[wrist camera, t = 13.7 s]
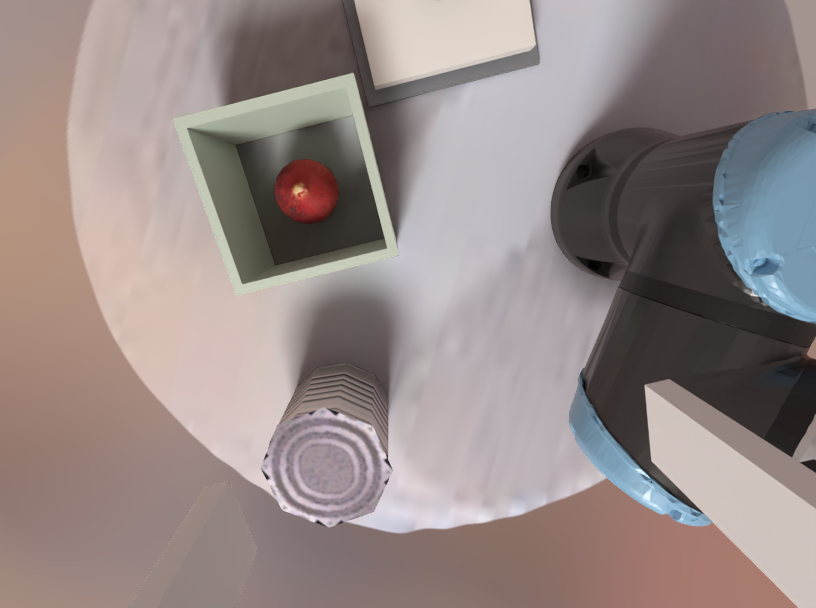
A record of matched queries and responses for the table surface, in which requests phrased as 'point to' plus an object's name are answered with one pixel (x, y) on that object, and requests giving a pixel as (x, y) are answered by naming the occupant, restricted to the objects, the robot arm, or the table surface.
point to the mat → (429, 82)
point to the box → (230, 194)
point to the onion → (306, 191)
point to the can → (331, 447)
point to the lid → (440, 35)
